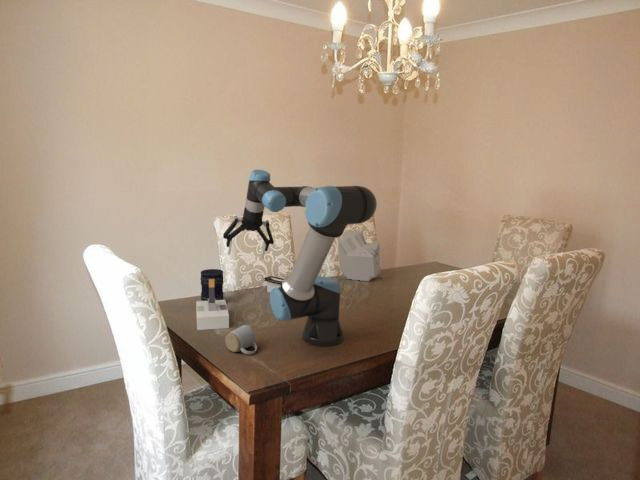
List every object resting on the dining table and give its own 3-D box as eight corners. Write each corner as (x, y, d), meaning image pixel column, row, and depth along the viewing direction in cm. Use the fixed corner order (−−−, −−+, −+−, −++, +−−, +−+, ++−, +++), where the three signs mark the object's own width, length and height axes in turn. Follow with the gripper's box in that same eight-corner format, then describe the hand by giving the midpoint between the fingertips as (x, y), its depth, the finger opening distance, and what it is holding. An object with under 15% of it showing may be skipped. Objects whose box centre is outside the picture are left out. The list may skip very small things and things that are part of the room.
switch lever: (214, 308, 186) (214, 280, 183) (209, 309, 185) (209, 281, 183) (214, 305, 190) (214, 277, 188) (208, 305, 189) (208, 278, 187)
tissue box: (382, 271, 265) (381, 232, 253) (376, 287, 252) (375, 247, 240) (347, 267, 272) (345, 230, 259) (340, 283, 258) (337, 244, 246)
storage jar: (228, 303, 209) (228, 271, 206) (212, 309, 201) (211, 275, 198) (212, 299, 214) (212, 267, 212) (196, 304, 206) (195, 272, 204)
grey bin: (282, 303, 213) (283, 282, 212) (243, 292, 227) (243, 273, 226) (307, 293, 229) (308, 274, 227) (269, 284, 243) (269, 266, 241)
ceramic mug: (223, 350, 160) (223, 329, 159) (239, 342, 167) (240, 322, 166) (246, 358, 155) (246, 337, 153) (262, 350, 162) (263, 329, 160)
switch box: (228, 327, 181) (228, 308, 179) (197, 330, 177) (196, 310, 176) (225, 310, 199) (225, 293, 198) (196, 312, 196) (196, 294, 195)
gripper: (284, 208, 187) (274, 253, 197) (221, 200, 181) (214, 247, 190) (286, 217, 181) (276, 263, 190) (221, 208, 174) (214, 256, 184)
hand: (245, 255), depth 190 cm, fingers open, 13 cm apart
